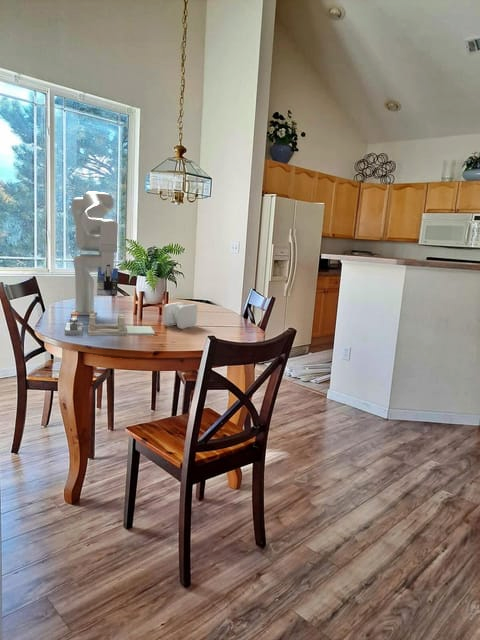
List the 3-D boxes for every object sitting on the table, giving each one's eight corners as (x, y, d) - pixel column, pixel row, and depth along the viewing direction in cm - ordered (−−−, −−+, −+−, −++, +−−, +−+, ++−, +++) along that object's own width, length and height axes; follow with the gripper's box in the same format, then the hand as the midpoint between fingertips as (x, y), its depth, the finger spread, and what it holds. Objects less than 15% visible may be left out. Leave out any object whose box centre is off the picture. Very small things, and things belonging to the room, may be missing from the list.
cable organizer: (178, 330, 220) (179, 307, 217) (161, 326, 225) (162, 303, 223) (196, 326, 232) (198, 304, 230) (180, 322, 237) (181, 301, 235)
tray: (125, 327, 216) (125, 326, 216) (150, 327, 220) (150, 326, 220) (127, 334, 203) (127, 332, 203) (154, 334, 207) (154, 333, 207)
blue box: (96, 295, 201) (97, 268, 198) (96, 294, 205) (97, 267, 202) (117, 296, 203) (118, 269, 201) (117, 295, 207) (118, 268, 205)
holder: (88, 326, 212) (88, 312, 210) (123, 327, 217) (123, 312, 215) (88, 335, 197) (88, 319, 195) (125, 335, 202) (126, 319, 201)
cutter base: (66, 326, 208) (66, 318, 207) (82, 327, 210) (82, 318, 210) (64, 334, 194) (64, 325, 193) (82, 334, 196) (82, 325, 196)
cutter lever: (71, 320, 210) (71, 312, 209) (78, 320, 211) (78, 312, 210) (69, 327, 196) (69, 318, 195) (77, 327, 197) (77, 318, 196)
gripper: (99, 246, 206) (98, 286, 210) (99, 249, 191) (98, 292, 194) (116, 247, 209) (114, 286, 212) (118, 250, 193) (116, 292, 197)
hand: (107, 288), depth 203 cm, fingers closed on blue box, 4 cm apart
